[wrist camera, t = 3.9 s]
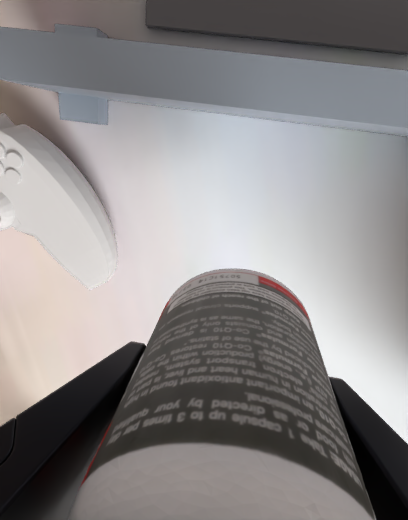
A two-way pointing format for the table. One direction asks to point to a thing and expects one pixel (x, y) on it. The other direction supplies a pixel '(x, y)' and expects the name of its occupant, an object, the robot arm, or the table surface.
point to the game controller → (54, 204)
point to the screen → (201, 80)
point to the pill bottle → (227, 416)
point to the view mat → (291, 21)
